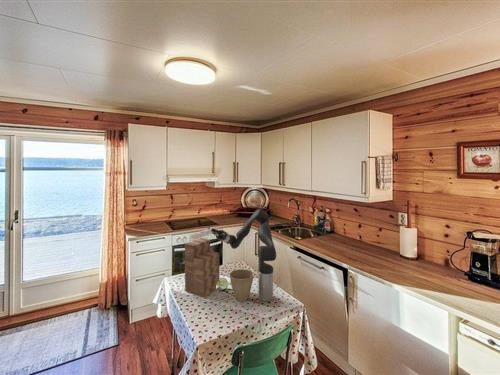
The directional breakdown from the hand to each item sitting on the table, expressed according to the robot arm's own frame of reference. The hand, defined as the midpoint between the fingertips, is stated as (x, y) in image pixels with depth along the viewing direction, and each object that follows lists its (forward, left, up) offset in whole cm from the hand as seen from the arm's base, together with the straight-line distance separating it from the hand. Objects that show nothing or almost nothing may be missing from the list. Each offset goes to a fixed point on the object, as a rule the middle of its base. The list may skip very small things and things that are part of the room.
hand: (210, 229), depth 173 cm
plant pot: (-26, -17, -39) cm, 50 cm away
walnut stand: (-8, +6, -39) cm, 40 cm away
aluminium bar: (-4, +4, -3) cm, 6 cm away
